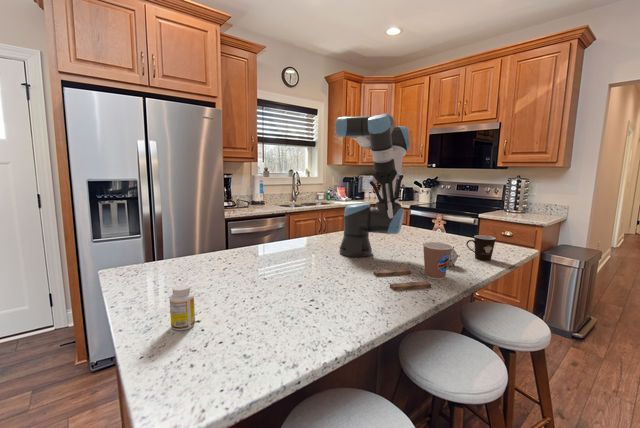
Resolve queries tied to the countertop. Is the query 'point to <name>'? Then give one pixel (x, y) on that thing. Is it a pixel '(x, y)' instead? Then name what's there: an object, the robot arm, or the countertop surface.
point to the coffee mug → (483, 247)
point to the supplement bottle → (182, 308)
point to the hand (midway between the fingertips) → (390, 216)
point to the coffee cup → (436, 259)
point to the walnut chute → (402, 285)
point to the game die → (452, 257)
